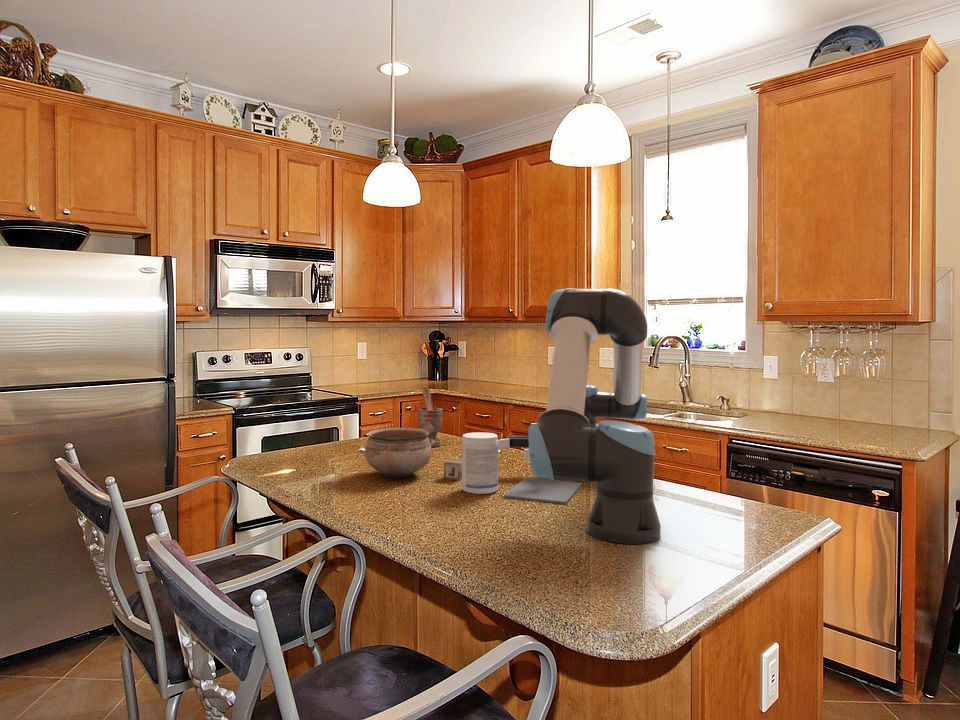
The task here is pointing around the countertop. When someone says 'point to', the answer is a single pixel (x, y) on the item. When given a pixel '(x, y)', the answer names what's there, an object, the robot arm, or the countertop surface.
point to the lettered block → (453, 469)
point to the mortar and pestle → (430, 418)
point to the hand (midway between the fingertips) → (507, 450)
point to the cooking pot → (398, 451)
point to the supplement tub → (480, 463)
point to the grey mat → (544, 490)
